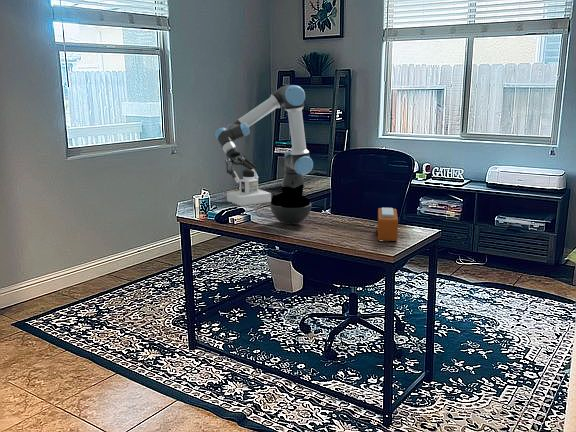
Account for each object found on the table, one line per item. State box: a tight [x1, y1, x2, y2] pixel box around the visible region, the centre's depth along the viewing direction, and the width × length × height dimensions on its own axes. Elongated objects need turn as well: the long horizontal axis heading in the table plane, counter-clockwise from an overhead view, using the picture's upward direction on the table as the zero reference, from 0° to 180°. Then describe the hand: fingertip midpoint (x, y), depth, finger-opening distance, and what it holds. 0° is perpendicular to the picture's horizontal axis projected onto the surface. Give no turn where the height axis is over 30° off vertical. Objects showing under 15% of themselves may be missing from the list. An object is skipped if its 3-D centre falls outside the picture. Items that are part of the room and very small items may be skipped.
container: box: [239, 169, 259, 194], centre depth 320 cm, size 8×8×13 cm
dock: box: [226, 188, 272, 207], centre depth 322 cm, size 20×16×5 cm
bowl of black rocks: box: [269, 184, 313, 225], centre depth 272 cm, size 20×20×19 cm
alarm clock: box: [376, 207, 399, 242], centre depth 254 cm, size 24×8×11 cm, turn 171°
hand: (248, 180), depth 320 cm, fingers open, 13 cm apart
